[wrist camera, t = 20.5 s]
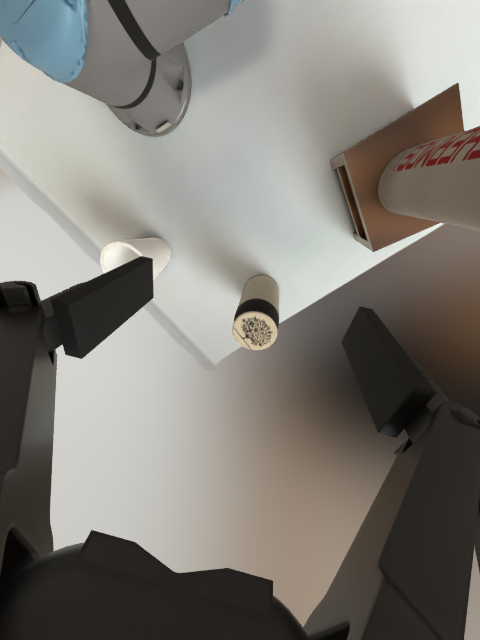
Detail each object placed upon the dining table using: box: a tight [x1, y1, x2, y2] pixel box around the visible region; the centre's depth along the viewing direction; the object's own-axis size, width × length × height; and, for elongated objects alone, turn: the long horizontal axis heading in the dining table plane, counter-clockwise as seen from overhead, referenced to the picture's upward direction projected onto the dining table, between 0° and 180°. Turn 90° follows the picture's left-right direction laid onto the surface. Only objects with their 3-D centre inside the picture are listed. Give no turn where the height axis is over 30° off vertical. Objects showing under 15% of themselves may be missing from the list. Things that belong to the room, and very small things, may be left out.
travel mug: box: [232, 275, 279, 350], centre depth 46 cm, size 8×8×18 cm
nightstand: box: [330, 83, 464, 252], centre depth 36 cm, size 15×13×10 cm
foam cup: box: [100, 237, 171, 281], centre depth 47 cm, size 10×9×13 cm
